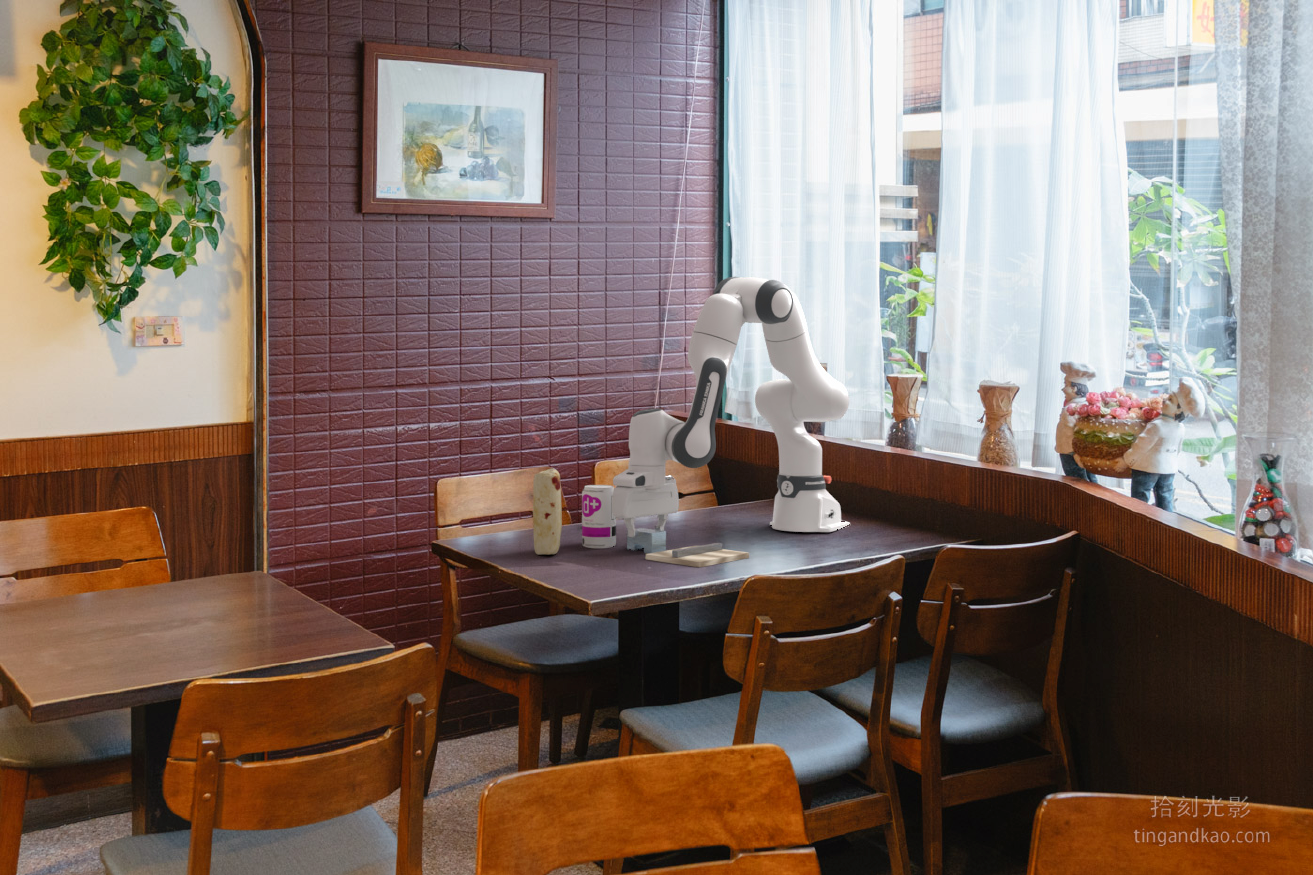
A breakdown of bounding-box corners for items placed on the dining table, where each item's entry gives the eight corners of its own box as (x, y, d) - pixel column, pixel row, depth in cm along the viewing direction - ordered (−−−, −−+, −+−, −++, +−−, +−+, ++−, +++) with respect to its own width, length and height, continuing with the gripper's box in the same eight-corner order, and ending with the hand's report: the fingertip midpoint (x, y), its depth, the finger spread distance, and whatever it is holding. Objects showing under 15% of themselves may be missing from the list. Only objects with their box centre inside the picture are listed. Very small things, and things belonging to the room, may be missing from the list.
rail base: (696, 550, 287) (696, 545, 287) (749, 557, 276) (749, 552, 276) (645, 559, 274) (645, 554, 273) (699, 567, 263) (699, 562, 263)
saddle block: (641, 548, 290) (641, 527, 290) (665, 551, 285) (666, 531, 284) (627, 550, 286) (627, 530, 286) (651, 554, 281) (651, 533, 281)
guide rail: (717, 549, 281) (717, 542, 281) (722, 549, 280) (722, 543, 280) (672, 557, 269) (672, 550, 269) (677, 557, 268) (677, 551, 268)
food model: (564, 556, 277) (564, 470, 276) (535, 557, 275) (535, 471, 274) (559, 550, 286) (559, 467, 285) (531, 551, 285) (531, 467, 284)
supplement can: (599, 551, 285) (599, 488, 284) (575, 547, 290) (575, 486, 289) (622, 547, 291) (622, 486, 290) (598, 544, 296) (598, 483, 295)
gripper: (665, 473, 294) (665, 529, 295) (607, 478, 279) (607, 537, 279) (685, 475, 290) (684, 532, 290) (627, 480, 274) (627, 540, 275)
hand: (646, 534), depth 285 cm, fingers open, 8 cm apart
